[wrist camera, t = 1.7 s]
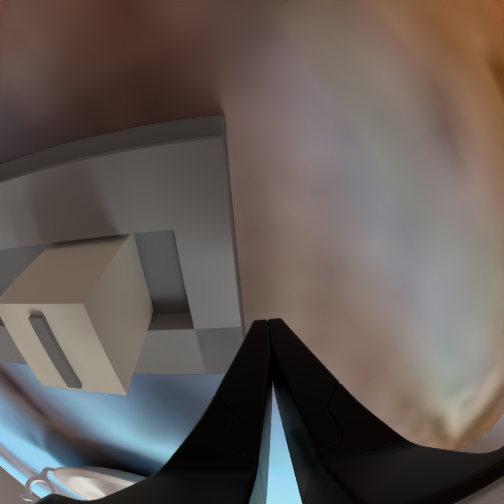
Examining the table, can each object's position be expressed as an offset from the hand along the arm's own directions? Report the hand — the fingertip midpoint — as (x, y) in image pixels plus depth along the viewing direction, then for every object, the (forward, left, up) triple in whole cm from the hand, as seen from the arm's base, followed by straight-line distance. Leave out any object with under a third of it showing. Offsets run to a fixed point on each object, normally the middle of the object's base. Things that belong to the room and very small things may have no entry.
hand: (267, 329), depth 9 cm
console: (0, +14, -6) cm, 15 cm away
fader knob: (0, +7, -4) cm, 8 cm away
